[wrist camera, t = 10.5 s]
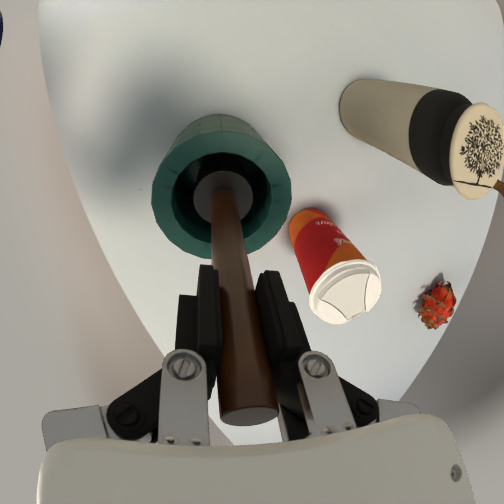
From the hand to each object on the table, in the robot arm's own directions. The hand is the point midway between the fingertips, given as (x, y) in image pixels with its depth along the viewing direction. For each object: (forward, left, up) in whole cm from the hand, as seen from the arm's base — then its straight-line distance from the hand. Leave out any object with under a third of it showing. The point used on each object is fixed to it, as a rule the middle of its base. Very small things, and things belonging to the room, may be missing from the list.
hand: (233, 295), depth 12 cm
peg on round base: (0, 0, -15) cm, 15 cm away
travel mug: (+16, +10, -22) cm, 29 cm away
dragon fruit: (+47, -18, -22) cm, 55 cm away
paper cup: (+13, -7, -22) cm, 26 cm away
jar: (0, 0, -22) cm, 22 cm away
